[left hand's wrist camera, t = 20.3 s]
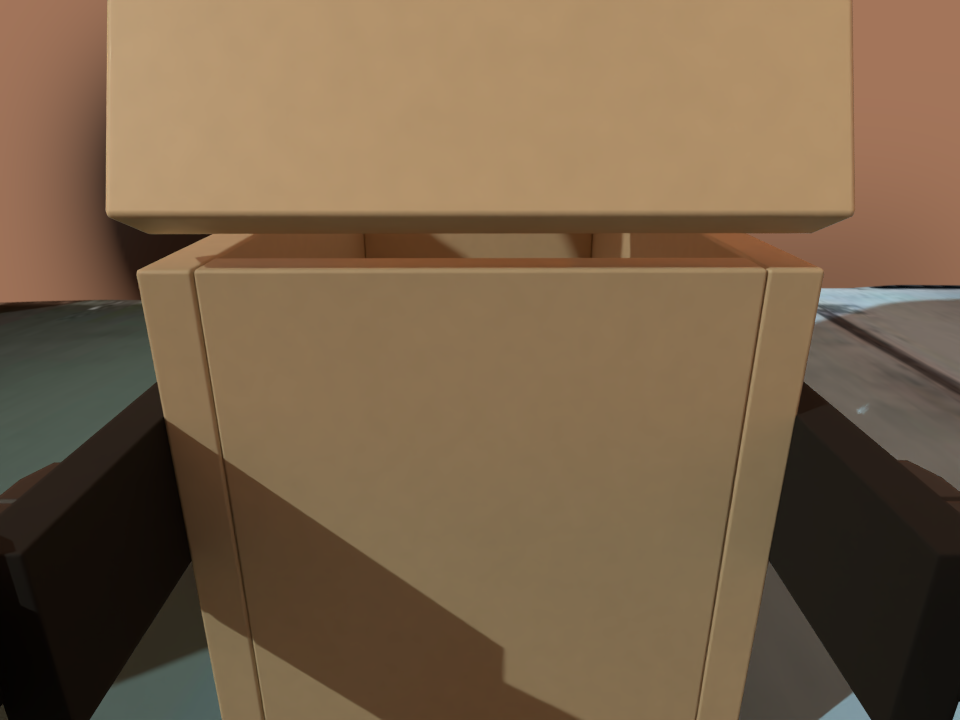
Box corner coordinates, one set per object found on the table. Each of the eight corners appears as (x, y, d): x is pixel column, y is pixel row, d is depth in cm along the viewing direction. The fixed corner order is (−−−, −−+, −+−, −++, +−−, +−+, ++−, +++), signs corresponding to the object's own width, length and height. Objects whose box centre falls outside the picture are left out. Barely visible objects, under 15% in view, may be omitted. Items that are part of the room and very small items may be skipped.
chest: (360, 439, 27) (340, 172, 23) (596, 438, 27) (615, 171, 23) (234, 795, 13) (133, 270, 9) (725, 793, 13) (827, 269, 9)
